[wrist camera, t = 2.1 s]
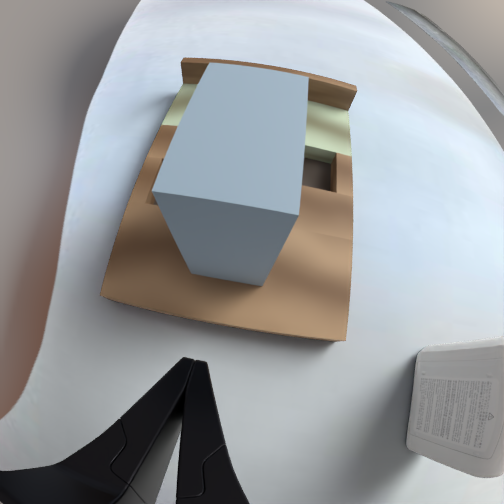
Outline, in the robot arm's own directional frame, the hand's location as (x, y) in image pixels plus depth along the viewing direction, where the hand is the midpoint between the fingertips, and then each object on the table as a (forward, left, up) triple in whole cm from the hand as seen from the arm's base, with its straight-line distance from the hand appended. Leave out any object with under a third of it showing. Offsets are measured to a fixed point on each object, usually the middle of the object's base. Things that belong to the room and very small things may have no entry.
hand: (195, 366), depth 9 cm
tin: (+7, +7, -9) cm, 13 cm away
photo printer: (+12, -15, -12) cm, 22 cm away
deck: (+9, +9, -11) cm, 18 cm away
